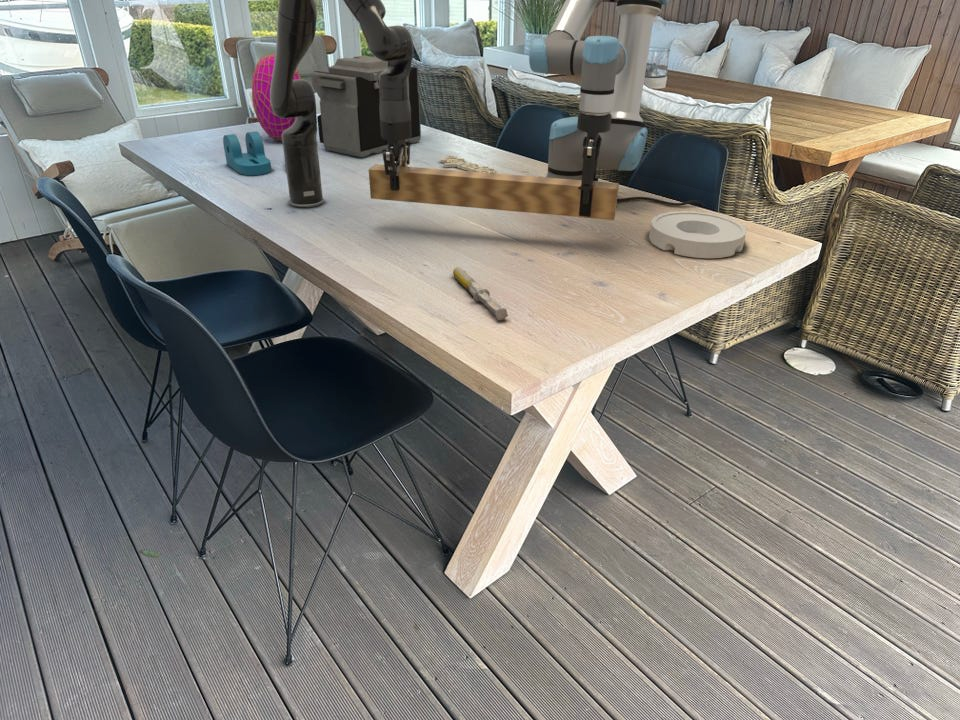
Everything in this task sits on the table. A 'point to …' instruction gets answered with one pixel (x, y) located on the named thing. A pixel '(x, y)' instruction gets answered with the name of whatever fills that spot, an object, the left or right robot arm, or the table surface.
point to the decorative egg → (268, 99)
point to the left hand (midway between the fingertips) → (398, 186)
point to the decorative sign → (465, 165)
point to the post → (493, 191)
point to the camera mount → (246, 154)
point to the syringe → (479, 293)
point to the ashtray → (697, 234)
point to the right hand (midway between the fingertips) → (585, 211)
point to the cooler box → (357, 106)
